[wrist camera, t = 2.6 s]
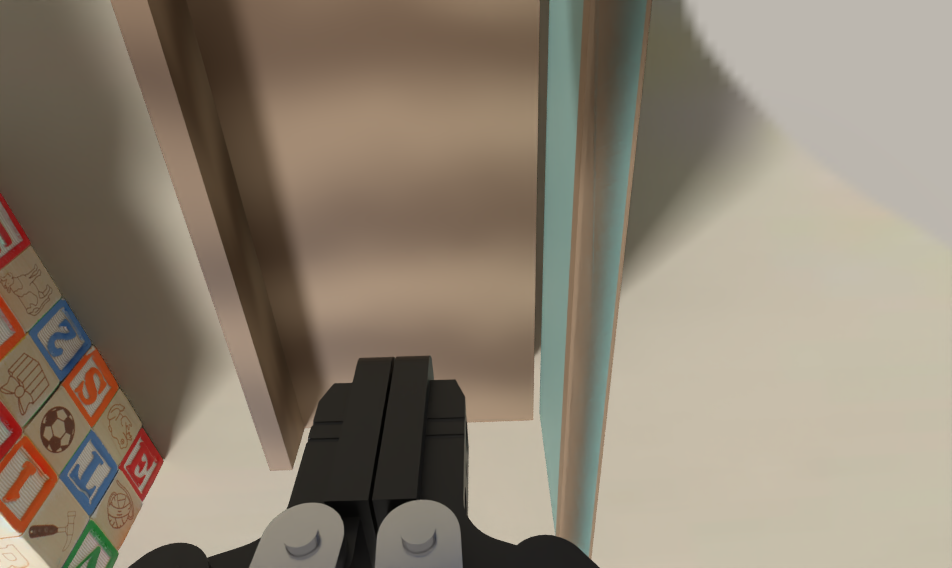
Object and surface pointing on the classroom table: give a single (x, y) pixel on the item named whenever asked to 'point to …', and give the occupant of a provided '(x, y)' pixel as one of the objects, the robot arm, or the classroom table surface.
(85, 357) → the stack of blocks
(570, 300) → the tailgate
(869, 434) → the classroom table surface
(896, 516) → the classroom table surface
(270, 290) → the cart bed
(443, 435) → the robot arm
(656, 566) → the classroom table surface
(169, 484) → the classroom table surface
